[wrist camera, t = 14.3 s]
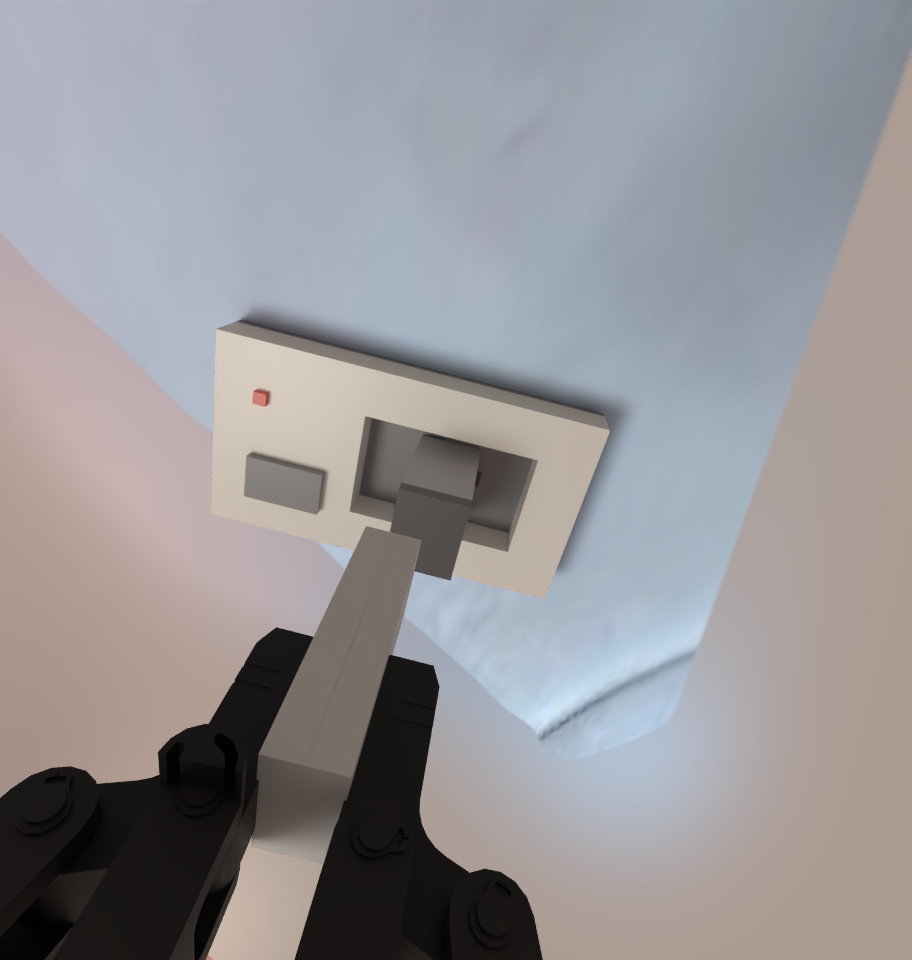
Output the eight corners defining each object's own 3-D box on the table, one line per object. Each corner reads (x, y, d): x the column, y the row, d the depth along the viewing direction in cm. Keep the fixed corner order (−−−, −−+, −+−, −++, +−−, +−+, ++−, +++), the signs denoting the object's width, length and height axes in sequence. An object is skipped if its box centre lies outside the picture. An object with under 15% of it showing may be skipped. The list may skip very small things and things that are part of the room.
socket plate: (239, 320, 35) (210, 331, 32) (603, 413, 35) (611, 434, 32) (231, 494, 41) (206, 518, 38) (543, 573, 41) (545, 604, 38)
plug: (422, 434, 36) (398, 488, 29) (480, 449, 36) (471, 507, 29) (408, 498, 39) (383, 563, 32) (463, 512, 39) (450, 580, 32)
